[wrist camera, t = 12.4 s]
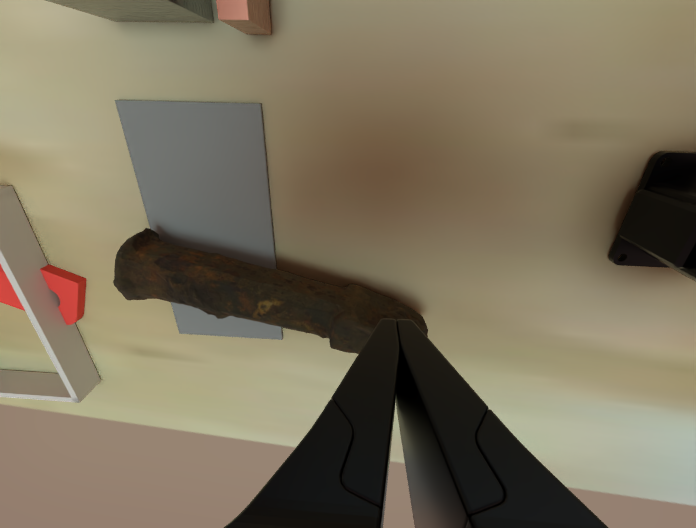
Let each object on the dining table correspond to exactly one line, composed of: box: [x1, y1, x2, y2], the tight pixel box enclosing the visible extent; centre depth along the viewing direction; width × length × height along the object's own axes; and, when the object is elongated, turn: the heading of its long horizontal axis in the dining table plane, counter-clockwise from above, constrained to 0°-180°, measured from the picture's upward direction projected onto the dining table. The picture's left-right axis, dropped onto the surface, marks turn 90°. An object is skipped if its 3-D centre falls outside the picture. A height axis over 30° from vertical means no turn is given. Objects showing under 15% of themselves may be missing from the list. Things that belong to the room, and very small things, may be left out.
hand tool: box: [113, 228, 428, 354], centre depth 20 cm, size 19×4×5 cm, turn 73°
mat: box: [115, 100, 283, 340], centre depth 21 cm, size 8×16×1 cm, turn 179°
